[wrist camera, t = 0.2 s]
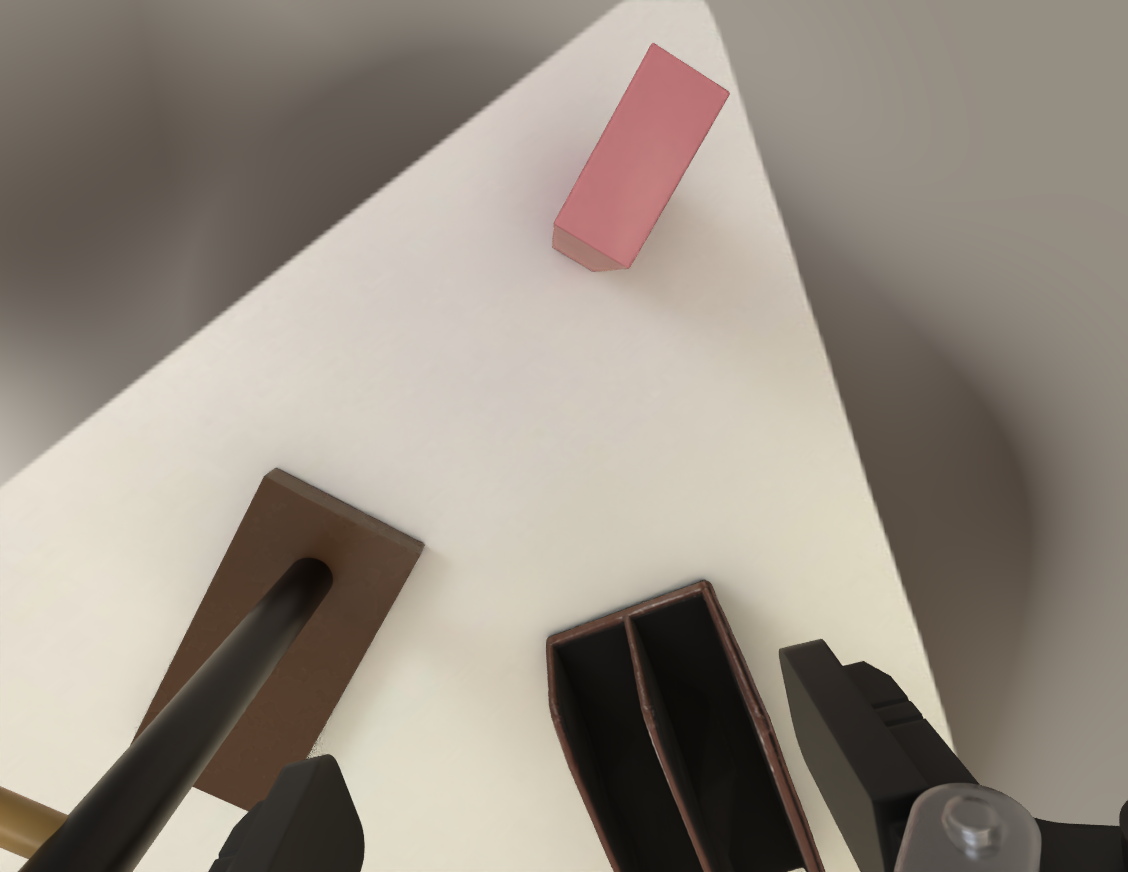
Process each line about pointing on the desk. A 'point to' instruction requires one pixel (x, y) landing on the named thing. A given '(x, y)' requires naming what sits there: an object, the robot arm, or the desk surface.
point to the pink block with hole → (637, 162)
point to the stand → (236, 678)
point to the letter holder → (674, 742)
